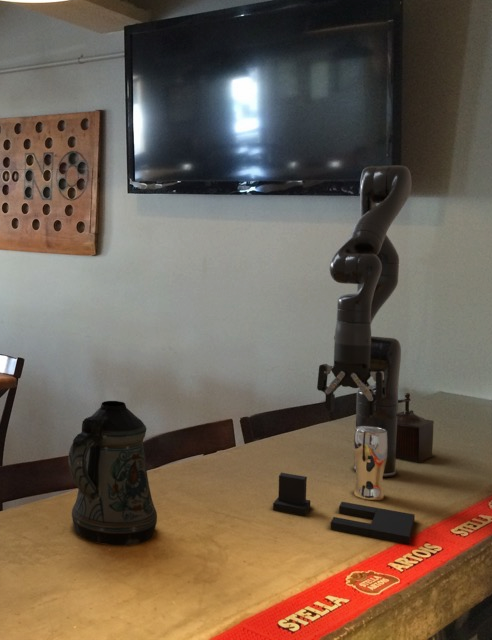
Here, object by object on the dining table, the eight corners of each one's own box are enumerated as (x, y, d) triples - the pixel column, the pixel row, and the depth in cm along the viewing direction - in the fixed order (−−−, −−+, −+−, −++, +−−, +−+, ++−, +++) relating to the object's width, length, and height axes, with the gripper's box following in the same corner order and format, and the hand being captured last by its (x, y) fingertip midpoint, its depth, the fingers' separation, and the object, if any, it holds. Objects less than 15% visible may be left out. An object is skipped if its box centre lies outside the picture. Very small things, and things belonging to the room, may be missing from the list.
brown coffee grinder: (435, 455, 214) (437, 387, 213) (418, 463, 206) (421, 393, 206) (375, 443, 225) (378, 378, 224) (358, 450, 218) (360, 383, 217)
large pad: (341, 508, 172) (341, 501, 172) (414, 521, 165) (414, 514, 165) (330, 529, 160) (330, 521, 160) (408, 544, 153) (409, 536, 153)
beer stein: (162, 520, 163) (165, 397, 162) (145, 558, 144) (149, 419, 143) (83, 510, 168) (85, 390, 167) (57, 544, 150) (59, 411, 149)
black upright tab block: (279, 501, 176) (280, 469, 175) (310, 507, 172) (311, 474, 172) (273, 510, 170) (274, 477, 170) (304, 516, 167) (305, 482, 167)
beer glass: (389, 502, 176) (391, 434, 176) (355, 499, 178) (357, 432, 177) (381, 492, 183) (383, 426, 183) (349, 489, 185) (351, 424, 184)
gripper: (391, 344, 178) (388, 417, 179) (327, 337, 188) (324, 406, 188) (379, 346, 173) (376, 422, 173) (314, 339, 183) (311, 411, 183)
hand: (349, 414), depth 181 cm, fingers open, 8 cm apart
